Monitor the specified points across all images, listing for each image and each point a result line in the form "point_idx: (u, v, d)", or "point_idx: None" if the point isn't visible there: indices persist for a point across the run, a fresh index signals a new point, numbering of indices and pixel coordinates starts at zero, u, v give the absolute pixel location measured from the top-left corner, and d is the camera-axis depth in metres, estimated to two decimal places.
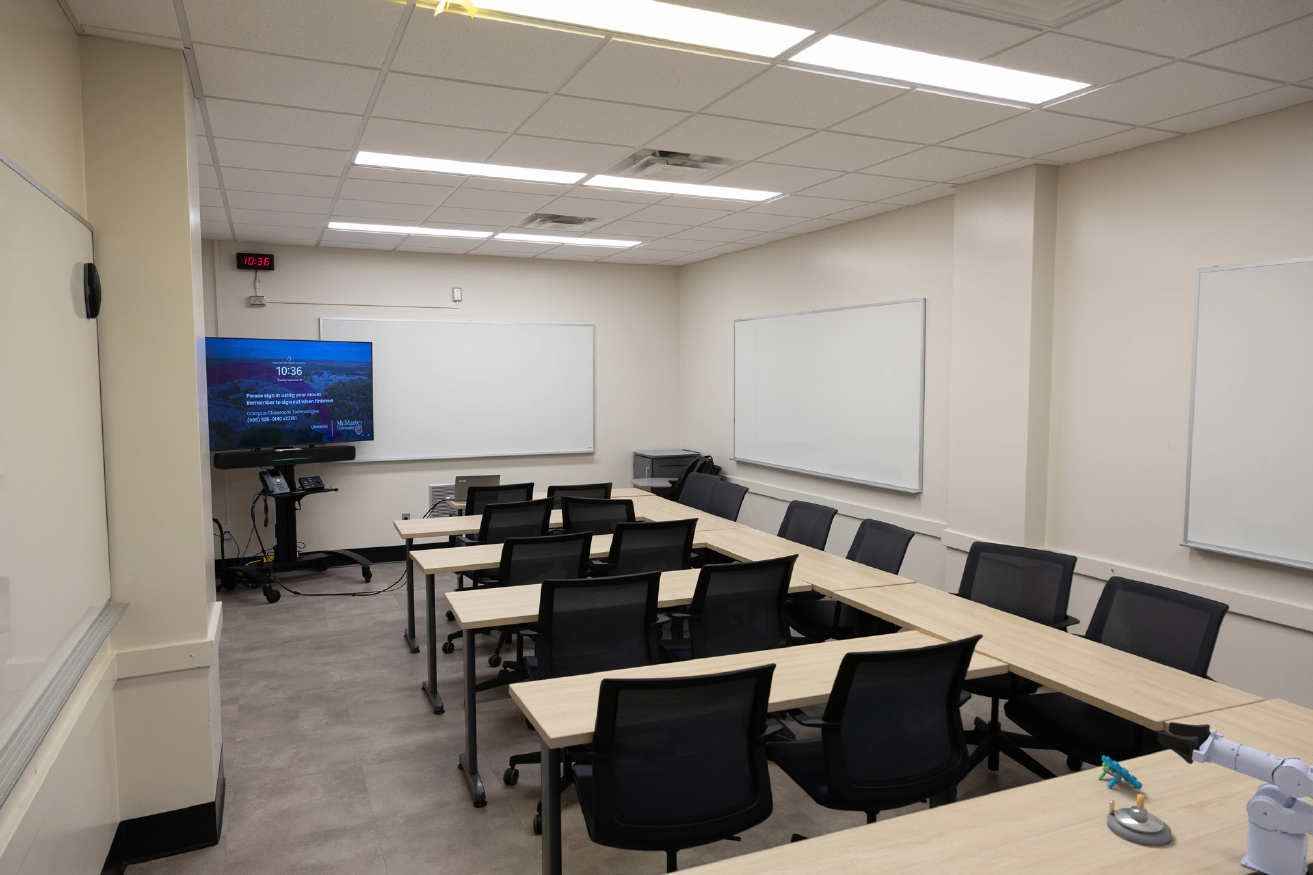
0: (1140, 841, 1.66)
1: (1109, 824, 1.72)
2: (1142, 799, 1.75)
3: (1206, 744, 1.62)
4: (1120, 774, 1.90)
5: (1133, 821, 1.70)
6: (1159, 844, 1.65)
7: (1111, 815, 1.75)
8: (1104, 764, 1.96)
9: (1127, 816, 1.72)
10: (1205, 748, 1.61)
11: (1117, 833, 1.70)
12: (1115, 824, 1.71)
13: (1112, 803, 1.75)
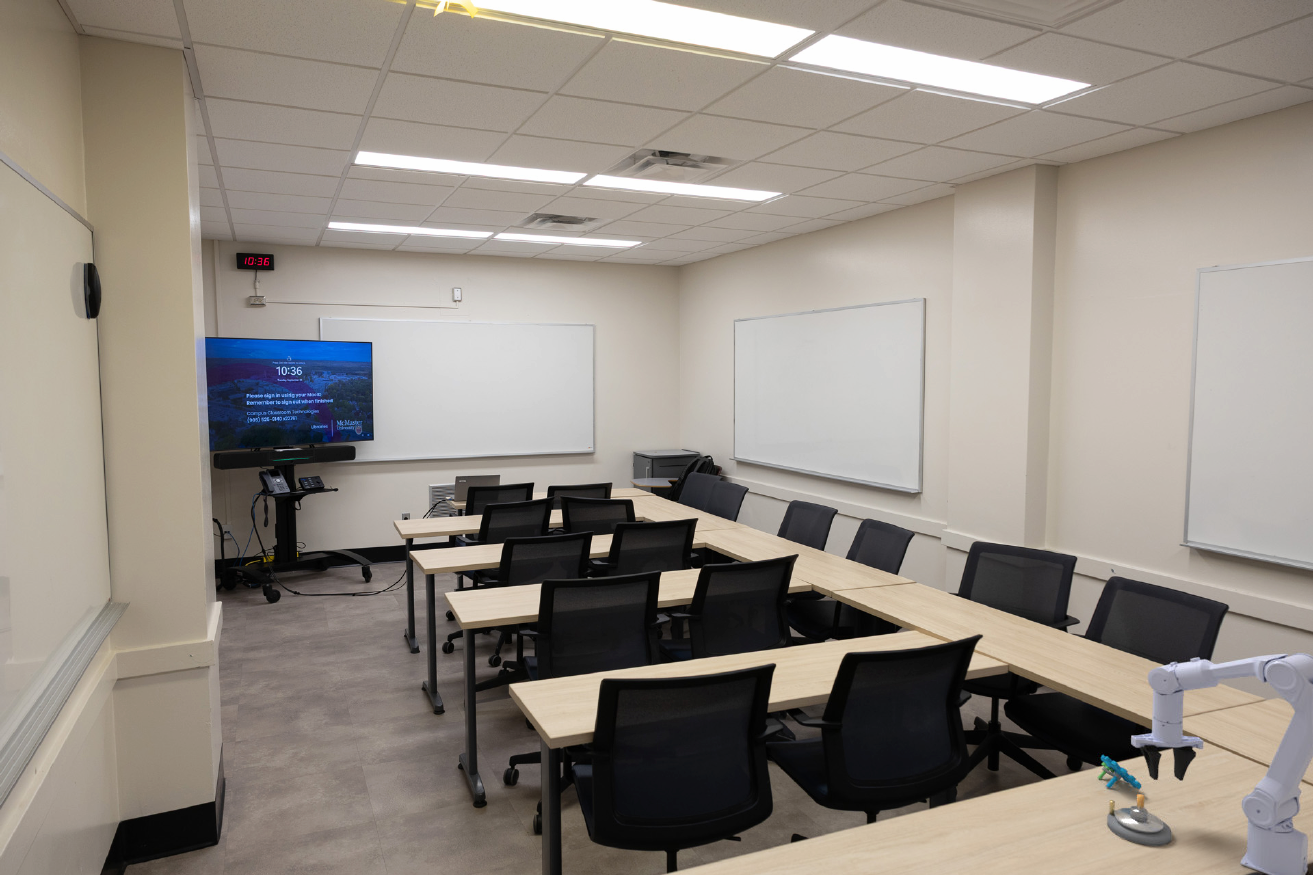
0: (1140, 841, 1.66)
1: (1109, 824, 1.72)
2: (1142, 799, 1.75)
3: None
4: (1119, 774, 1.90)
5: (1133, 821, 1.70)
6: (1159, 844, 1.65)
7: (1111, 815, 1.75)
8: (1104, 764, 1.96)
9: (1127, 816, 1.72)
10: None
11: (1117, 833, 1.70)
12: (1115, 824, 1.71)
13: (1112, 803, 1.75)
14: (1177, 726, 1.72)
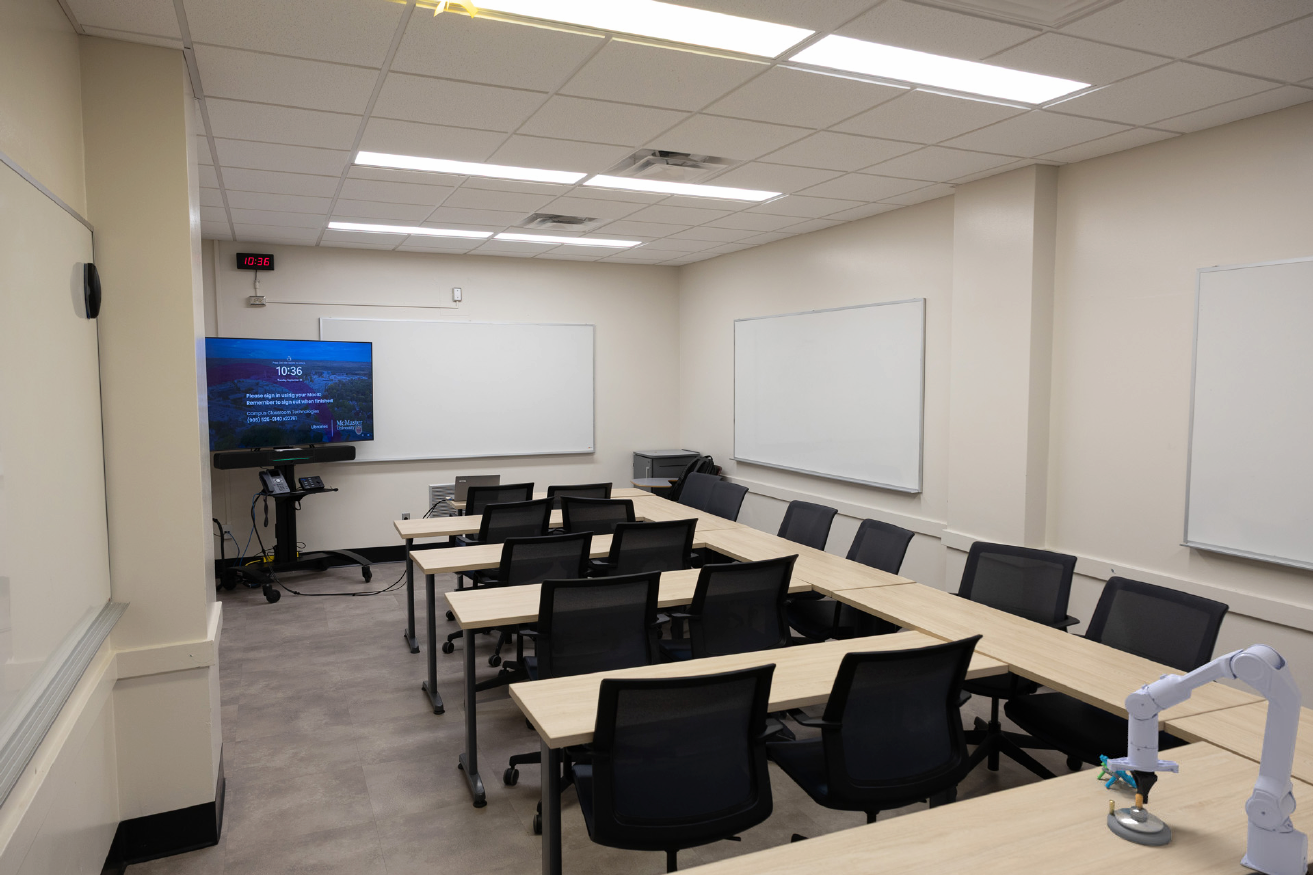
0: (1140, 841, 1.66)
1: (1109, 824, 1.72)
2: (1141, 799, 1.75)
3: None
4: (1118, 774, 1.90)
5: (1134, 821, 1.70)
6: (1159, 844, 1.65)
7: (1111, 815, 1.75)
8: (1103, 764, 1.96)
9: (1127, 816, 1.72)
10: None
11: (1117, 833, 1.70)
12: (1115, 824, 1.71)
13: (1112, 803, 1.75)
14: (1152, 751, 1.73)
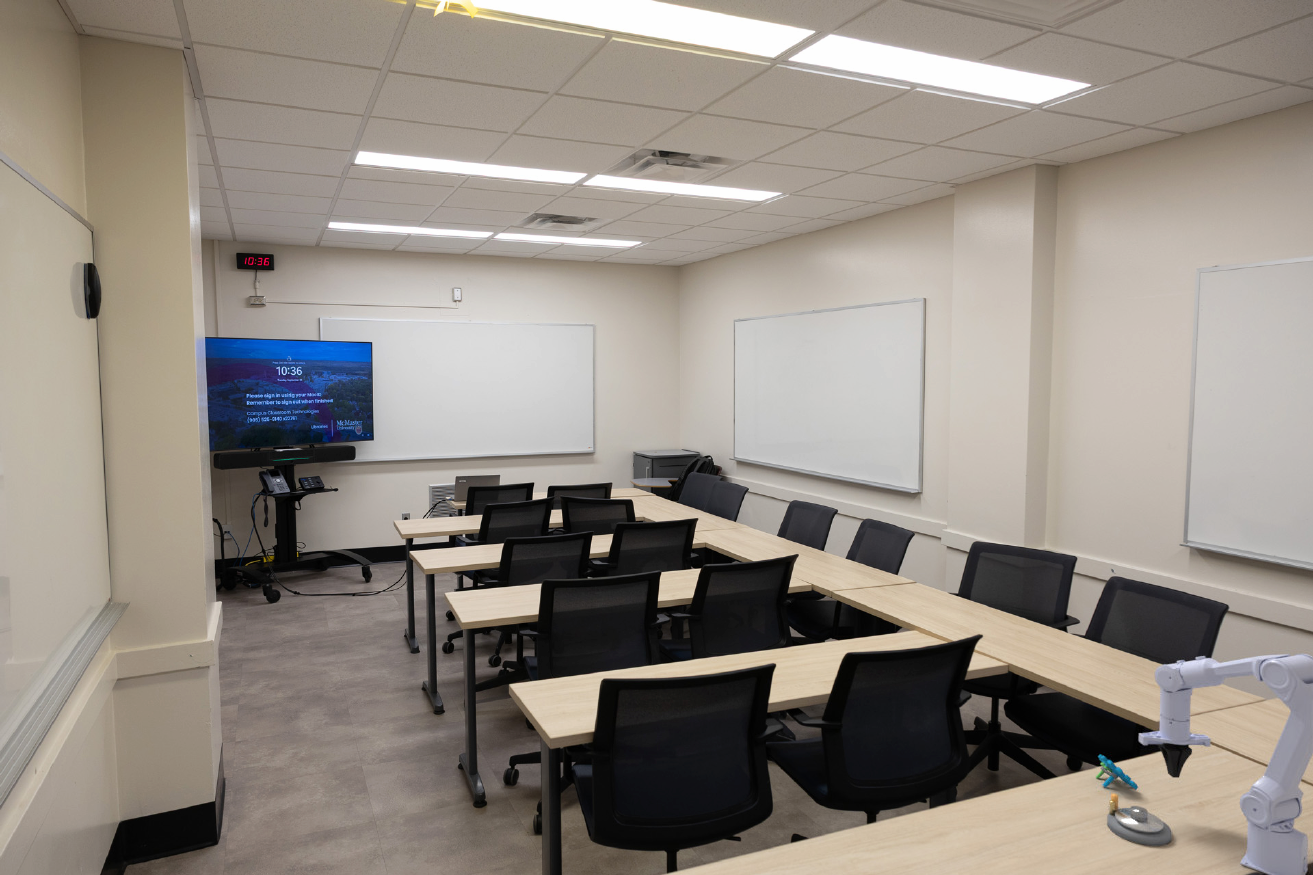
0: (1140, 841, 1.66)
1: (1109, 824, 1.72)
2: None
3: None
4: (1116, 774, 1.90)
5: (1146, 824, 1.69)
6: (1159, 844, 1.65)
7: (1111, 815, 1.75)
8: (1102, 764, 1.96)
9: (1135, 821, 1.70)
10: None
11: (1117, 833, 1.70)
12: (1115, 824, 1.71)
13: (1112, 803, 1.75)
14: (1184, 724, 1.73)
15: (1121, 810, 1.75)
